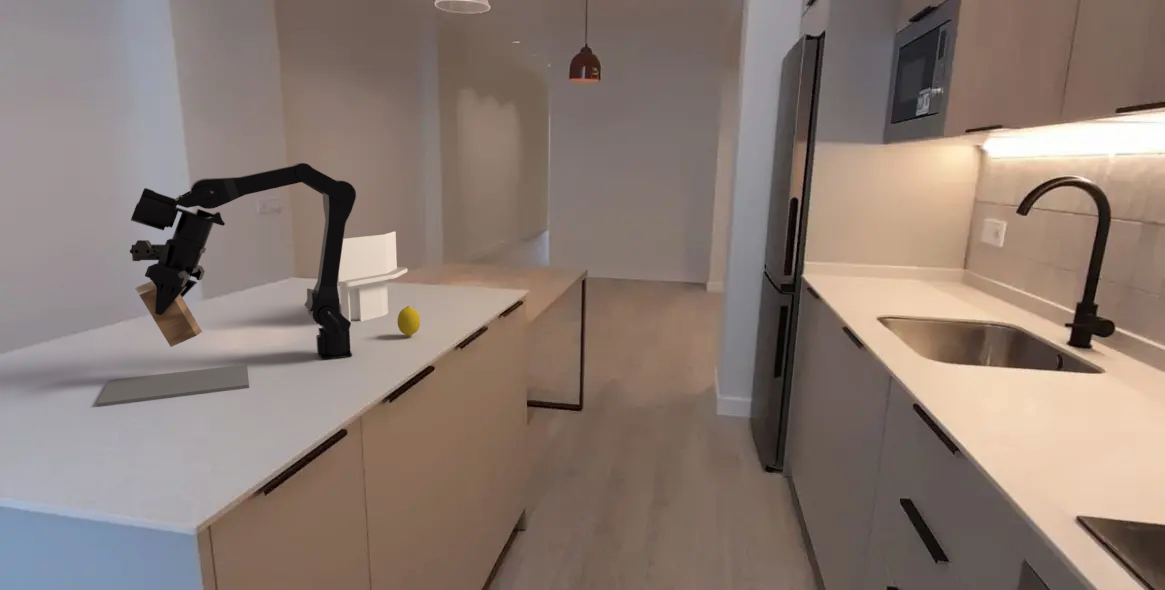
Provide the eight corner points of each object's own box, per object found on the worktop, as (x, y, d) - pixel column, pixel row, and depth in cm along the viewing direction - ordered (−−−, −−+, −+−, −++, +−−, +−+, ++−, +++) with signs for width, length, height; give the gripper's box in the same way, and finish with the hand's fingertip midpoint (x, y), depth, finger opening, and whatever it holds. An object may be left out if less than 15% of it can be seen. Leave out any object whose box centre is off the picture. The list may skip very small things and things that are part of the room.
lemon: (393, 338, 163) (392, 307, 162) (407, 332, 168) (406, 302, 167) (411, 340, 161) (410, 309, 160) (424, 335, 166) (424, 305, 165)
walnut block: (202, 331, 134) (168, 274, 131) (196, 335, 129) (161, 276, 126) (177, 342, 132) (143, 285, 129) (170, 347, 128) (134, 287, 125)
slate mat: (247, 367, 138) (247, 364, 138) (249, 387, 126) (248, 384, 126) (109, 382, 127) (109, 379, 127) (97, 406, 115) (97, 403, 115)
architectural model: (350, 304, 201) (347, 228, 196) (418, 306, 200) (416, 230, 195) (309, 326, 173) (304, 239, 169) (387, 329, 173) (384, 241, 168)
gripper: (158, 224, 135) (131, 294, 135) (129, 224, 118) (98, 305, 117) (216, 243, 139) (190, 311, 139) (196, 245, 121) (166, 324, 121)
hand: (162, 312), depth 129 cm, fingers closed on walnut block, 5 cm apart
